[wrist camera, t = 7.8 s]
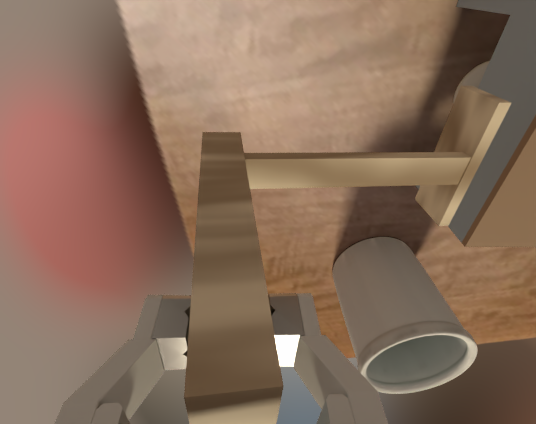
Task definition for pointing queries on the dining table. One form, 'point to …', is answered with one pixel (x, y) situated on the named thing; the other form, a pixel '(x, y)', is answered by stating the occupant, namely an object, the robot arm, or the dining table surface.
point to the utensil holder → (398, 319)
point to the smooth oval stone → (472, 77)
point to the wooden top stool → (506, 139)
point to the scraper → (249, 255)
